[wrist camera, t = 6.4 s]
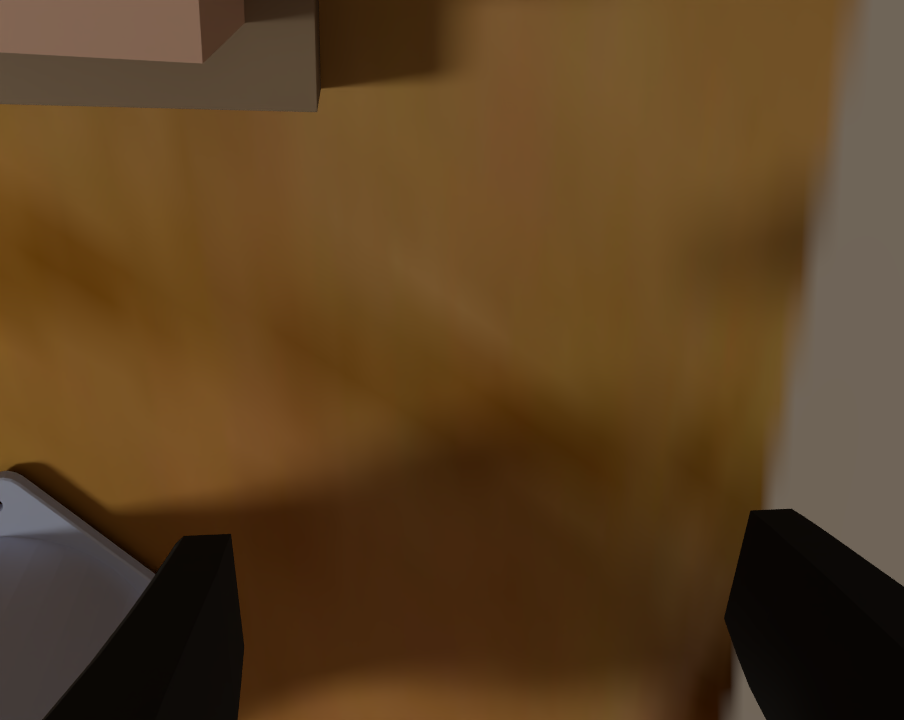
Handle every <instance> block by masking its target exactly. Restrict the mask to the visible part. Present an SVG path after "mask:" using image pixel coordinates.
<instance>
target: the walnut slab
mask: <svg viewBox="0 0 904 720" xmlns="http://www.w3.org/2000/svg"><path fill="white" fill-rule="evenodd" d="M244 16H245V23H244V24H243V25H242V26H241V27H240V28H239V29H238V30H237V31H236V32H235V33H234V34H233V35H232V36H231V37H230V38H229V39H228V40H227V41H226V42H225V43H223V44H222V45H221V46H220V47H219V48H218V49H217V50H216V51H215V52H214V53H213V54H212V55H211V56H210V57H209V58H208V59H207V60H206V61H205V62H204V63H203V64H201V63H183V62H165V61H147V60H129V59H110V58H92V57H74V56H56V55H37V54H19V53H1V52H0V104H23V105H62V106H100V107H139V108H178V109H217V110H256V111H294V112H317V109H318V103H319V96H320V90H321V79H320V38H319V0H244Z"/></svg>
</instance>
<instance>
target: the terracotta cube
mask: <svg viewBox="0 0 904 720" xmlns="http://www.w3.org/2000/svg"><path fill="white" fill-rule="evenodd" d="M244 23H245V16H244V0H0V52H1V53H19V54H37V55H56V56H74V57H92V58H110V59H129V60H147V61H165V62H183V63H201V64H203V63H204V62H205V61H206V60H207V59H208V58H209V57H210V56H211V55H212V54H213V53H214V52H215V51H216V50H217V49H218V48H219V47H220V46H221V45H222V44H223V43H225V42H226V41H227V40H228V39H229V38H230V37H231V36H232V35H233V34H234V33H235V32H236V31H237V30H238V29H239V28H240V27H241V26H242V25H243V24H244Z"/></svg>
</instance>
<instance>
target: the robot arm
mask: <svg viewBox="0 0 904 720" xmlns="http://www.w3.org/2000/svg"><path fill="white" fill-rule="evenodd" d="M0 501H1V503H2V504H0V720H237V719H238V709H239V699H240V689H241V678H242V666H243V655H244V641H243V633H242V624H241V616H240V607H239V599H238V590H237V582H236V573H235V565H234V556H233V548H232V539H231V534H219V535H197V536H183V537H182V538H181V539H180V540H179V541H178V542H177V543H176V544H175V546H174V547H173V549H172V550H171V552H170V553H169V555H168V556H167V558H166V559H165V561H164V562H163V564H162V565H161V567H160V568H159V570H158V571H157V573H156V574H154V573H153V572H152V571H150V570H149V569H148V568H146V567H145V566H144V565H142V564H141V563H140V562H138V561H137V560H136V559H134V558H133V557H132V556H130V555H129V554H127V553H126V552H125V551H123V550H122V549H121V548H119V547H118V546H117V545H115V544H114V543H113V542H111V541H110V540H109V539H107V538H106V537H105V536H103V535H102V534H101V533H99V532H98V531H96V530H95V529H94V528H92V527H91V526H90V525H88V524H87V523H86V522H84V521H83V520H82V519H80V518H79V517H78V516H76V515H75V514H74V513H72V512H71V511H69V510H68V509H67V508H65V507H64V506H63V505H61V504H60V503H59V502H57V501H56V500H55V499H53V498H52V497H51V496H49V495H48V494H47V493H45V492H44V491H43V490H41V489H40V488H38V487H37V486H36V485H34V484H33V483H32V482H30V481H29V480H28V479H26V478H25V477H24V476H22V475H20V474H18V473H16V472H12V471H2V472H0ZM724 619H725V622H726V625H727V628H728V631H729V634H730V637H731V639H732V642H733V645H734V648H735V651H736V654H737V656H738V659H739V661H740V664H741V667H742V669H743V672H744V674H745V677H746V679H747V682H748V684H749V687H750V689H751V691H752V693H753V694H754V697H755V698H756V701H757V703H758V705H759V706H760V709H761V710H762V712H763V714H764V716H765V718H766V720H904V587H903V586H902V585H901V584H899V583H898V582H896V581H895V580H893V579H892V578H891V577H889V576H888V575H886V574H885V573H884V572H882V571H881V570H879V569H878V568H877V567H875V566H874V565H872V564H871V563H870V562H868V561H867V560H865V559H864V558H863V557H861V556H860V555H858V554H857V553H856V552H854V551H853V550H851V549H850V548H849V547H847V546H845V545H844V544H843V543H841V542H840V541H839V540H837V539H836V538H834V537H833V536H832V535H830V534H829V533H827V532H826V531H824V530H823V529H822V528H820V527H819V526H817V525H816V524H814V523H813V522H811V521H810V520H808V519H806V518H805V517H804V516H802V515H801V514H799V513H797V512H796V511H794V510H793V509H776V510H753V511H750V515H749V519H748V523H747V527H746V531H745V535H744V539H743V543H742V547H741V551H740V555H739V560H738V564H737V568H736V572H735V576H734V580H733V584H732V588H731V592H730V596H729V600H728V604H727V609H726V613H725V617H724Z"/></svg>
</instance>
